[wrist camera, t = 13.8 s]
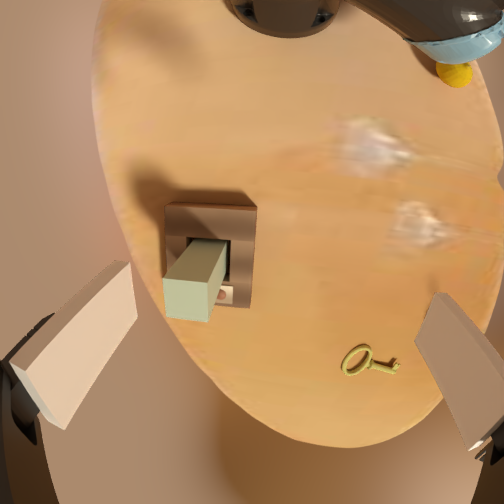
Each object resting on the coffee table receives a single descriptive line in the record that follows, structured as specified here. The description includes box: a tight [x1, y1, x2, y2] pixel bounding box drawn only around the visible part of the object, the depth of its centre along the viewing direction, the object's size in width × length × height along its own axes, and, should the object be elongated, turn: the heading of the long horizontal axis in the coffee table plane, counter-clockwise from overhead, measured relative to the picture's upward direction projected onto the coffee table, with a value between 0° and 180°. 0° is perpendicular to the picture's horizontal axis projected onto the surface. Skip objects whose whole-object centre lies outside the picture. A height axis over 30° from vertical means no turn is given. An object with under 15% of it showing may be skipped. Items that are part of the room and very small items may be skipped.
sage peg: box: [162, 238, 228, 322], centre depth 33 cm, size 4×4×14 cm
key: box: [342, 345, 400, 376], centre depth 44 cm, size 7×12×2 cm, turn 87°
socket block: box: [164, 202, 257, 308], centre depth 38 cm, size 14×12×3 cm
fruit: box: [436, 62, 473, 88], centre depth 23 cm, size 6×6×8 cm
